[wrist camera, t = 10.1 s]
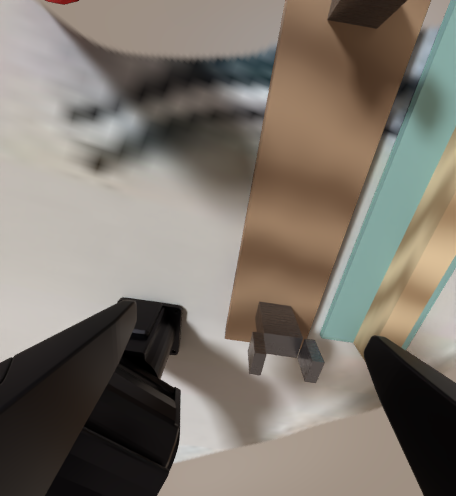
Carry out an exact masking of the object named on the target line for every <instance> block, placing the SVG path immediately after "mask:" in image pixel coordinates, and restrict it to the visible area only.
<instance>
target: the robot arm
mask: <svg viewBox="0 0 456 496" xmlns="http://www.w3.org/2000/svg"><path fill="white" fill-rule="evenodd" d="M176 310H178V311H176ZM181 321H182V307H181V306H179V305H173V304H166V303H159V302H152V301H145V300H138V299H131V298H120V300H119V301H118V303H117V304H115V305H113V306H111V307H109V308H107V309H105V310H103V311H101V312H99V313H97V314H95V315H93V316H91V317H89V318H87V319H85V320H83V321H81V322H79V323H77V324H75V325H73V326H71V327H70V328H68V329H66V330H64V331H62V332H60V333H58V334H56V335H54V336H52V337H50V338H48V339H46V340H44V341H42V342H40V343H38V344H36V345H34V346H32V347H30V348H28V349H26V350H24V351H22V352H20V353H19V354H17V355H15V356H14V357H13V358H12V357H11V358H9V359H7V360H5V361H3V362H1V363H0V496H157V495H158V493H159V491H160V489H161V487H162V486H163V484H164V482H165V480H166V478H167V477H168V474H169V471H170V468H171V466H172V464H173V461H174V459H175V456H176V453H177V449H178V445H179V438H180V395H181V391H180V390H179V389H178V388H176V387H172V386H170V385H169V384H167V383H166V382H164V381H162V380H161V376H162V374H163V371H164V368H165V365H166V362H167V359H168V356H169V355H177V354H178V352H179V345H180V333H181ZM174 350H175V351H174ZM364 359H365V362H366V364H367V367H368V370H369V373H370V375H371V378H372V381H373V384H374V386H375V389H376V392H377V394H378V397H379V400H380V402H381V404H382V406H383V409H384V411H385V413H386V415H387V417H388V419H389V422H390V424H391V426H392V428H393V430H394V432H395V434H396V437H397V439H398V441H399V443H400V445H401V447H402V450H403V452H404V454H405V456H406V458H407V460H408V462H409V465H410V466H411V469H412V471H413V473H414V475H415V477H416V480H417V482H418V484H419V486H420V488H421V490H422V492H423V495H424V496H456V383H455V382H453V381H452V380H450V379H449V378H447V377H446V376H444V375H443V374H441V373H440V372H438V371H437V370H435V369H434V368H432V367H430V366H429V365H427V364H426V363H424V362H423V361H421V360H420V359H418V358H417V357H415V356H414V355H412V354H411V353H409V352H408V351H406V350H404V349H403V348H401V347H400V346H398V345H397V344H395V343H394V342H392V341H391V340H389V339H388V338H386V337H383V336H377V335H373V336H372V337H371V338H370V340H369V342H368V344H367V346H366V347H365V349H364Z"/></svg>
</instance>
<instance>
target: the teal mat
mask: <svg viewBox="0 0 456 496" xmlns="http://www.w3.org/2000/svg"><path fill="white" fill-rule="evenodd" d="M455 127H456V0H451V1H450V4H449V6H448V9H447V11H446V14H445V16H444V19H443V22H442V24H441V26H440V29H439V32H438V34H437V37H436V39H435V42H434V44H433V47H432V49H431V52H430V54H429V57H428V60H427V62H426V65H425V67H424V70H423V72H422V75H421V77H420V80H419V83H418V85H417V88H416V90H415V93H414V95H413V98H412V100H411V103H410V105H409V108H408V111H407V113H406V116H405V118H404V121H403V123H402V126H401V128H400V131H399V133H398V136H397V139H396V141H395V144H394V146H393V149H392V151H391V154H390V156H389V159H388V162H387V164H386V167H385V169H384V172H383V174H382V177H381V179H380V182H379V184H378V187H377V190H376V192H375V195H374V197H373V200H372V202H371V205H370V207H369V210H368V212H367V215H366V218H365V220H364V223H363V225H362V228H361V230H360V233H359V235H358V238H357V241H356V243H355V246H354V248H353V251H352V253H351V256H350V258H349V261H348V263H347V266H346V269H345V271H344V274H343V276H342V279H341V281H340V284H339V286H338V289H337V291H336V294H335V297H334V299H333V302H332V304H331V307H330V309H329V312H328V314H327V317H326V320H325V322H324V325H323V327H322V330H321V332H320V336H321V338H323V339H330V340H337V341H344V342H351V343H353V342H354V340H355V337H356V335H357V333H358V331H359V329H360V327H361V325H362V323H363V321H364V319H365V316H366V314H367V312H368V310H369V308H370V306H371V304H372V302H373V300H374V297H375V295H376V293H377V291H378V289H379V287H380V285H381V283H382V281H383V279H384V276H385V274H386V272H387V270H388V268H389V266H390V264H391V262H392V260H393V257H394V255H395V253H396V251H397V249H398V247H399V245H400V243H401V241H402V239H403V236H404V234H405V232H406V230H407V228H408V226H409V224H410V222H411V220H412V217H413V215H414V213H415V211H416V209H417V207H418V205H419V203H420V201H421V199H422V196H423V194H424V192H425V190H426V188H427V186H428V184H429V182H430V180H431V177H432V175H433V173H434V171H435V169H436V167H437V165H438V163H439V161H440V159H441V156H442V154H443V152H444V150H445V148H446V146H447V144H448V142H449V140H450V137H451V135H452V133H453V131H454V129H455ZM455 268H456V255H455V257H454V259H453V260H452V262H451V264H450V266H449V267H448V269H447V271H446V272H445V274H444V276H443V277H442V279H441V281H440V283H439V284H438V286H437V288H436V289H435V291H434V293H433V294H432V296H431V298H430V299H429V301H428V303H427V305H426V306H425V308H424V310H423V311H422V313H421V315H420V316H419V318H418V320H417V321H416V323H415V325H414V327H413V328H412V330H411V332H410V333H409V335H408V337H407V338H406V340H405V342H404V344H403V345H402V347H401V348H403V349H404V350H406V349H407V347H408V346H409V344H410V342H411V341H412V339H413V338H414V336H415V334H416V333H417V331H418V329H419V328H420V326H421V324H422V323H423V321H424V319H425V318H426V316H427V314H428V313H429V311H430V309H431V308H432V306H433V304H434V303H435V301H436V299H437V298H438V296H439V295H440V293H441V291H442V290H443V288H444V286H445V285H446V283H447V281H448V280H449V278H450V276H451V275H452V273H453V271H454V270H455Z"/></svg>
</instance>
